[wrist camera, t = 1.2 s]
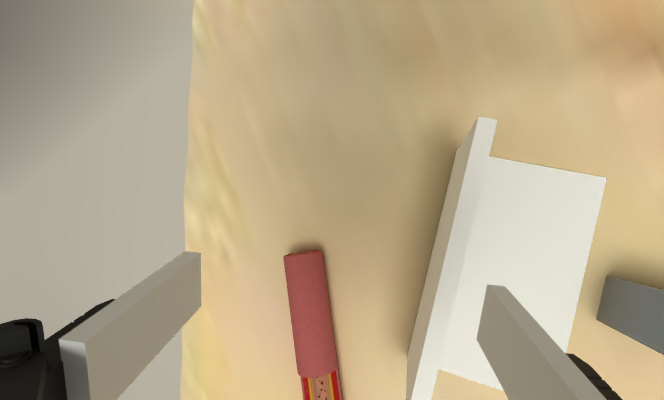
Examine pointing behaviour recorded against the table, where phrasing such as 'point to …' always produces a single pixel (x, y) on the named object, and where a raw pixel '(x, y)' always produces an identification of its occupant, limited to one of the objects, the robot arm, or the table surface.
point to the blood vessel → (312, 326)
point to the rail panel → (500, 256)
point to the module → (634, 311)
